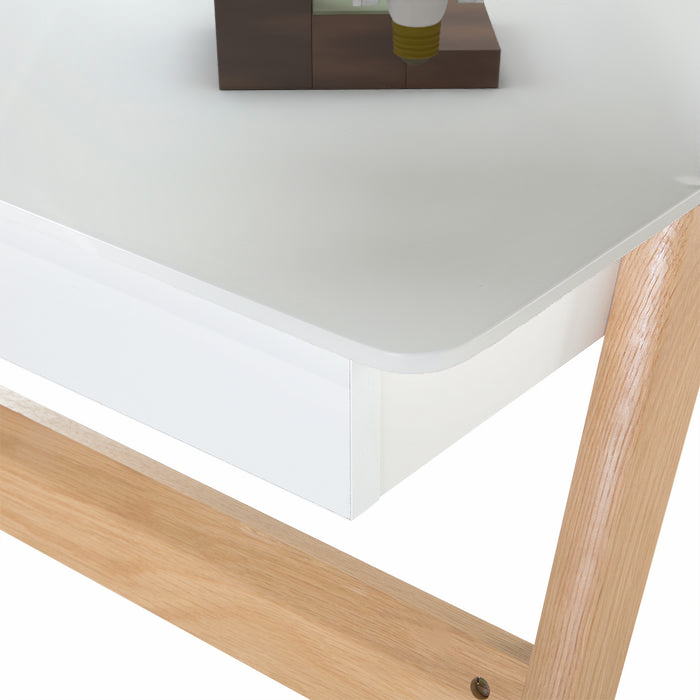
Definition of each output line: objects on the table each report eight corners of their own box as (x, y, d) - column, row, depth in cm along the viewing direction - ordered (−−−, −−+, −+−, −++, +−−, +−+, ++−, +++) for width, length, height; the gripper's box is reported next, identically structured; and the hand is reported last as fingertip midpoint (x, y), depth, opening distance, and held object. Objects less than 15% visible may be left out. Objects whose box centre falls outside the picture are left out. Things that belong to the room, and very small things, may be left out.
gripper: (617, -288, 64) (591, -21, 71) (220, -280, 63) (238, -13, 71) (645, -269, 58) (613, 16, 66) (213, -260, 58) (233, 25, 66)
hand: (416, 1), depth 69 cm, fingers closed on light bulb, 4 cm apart
